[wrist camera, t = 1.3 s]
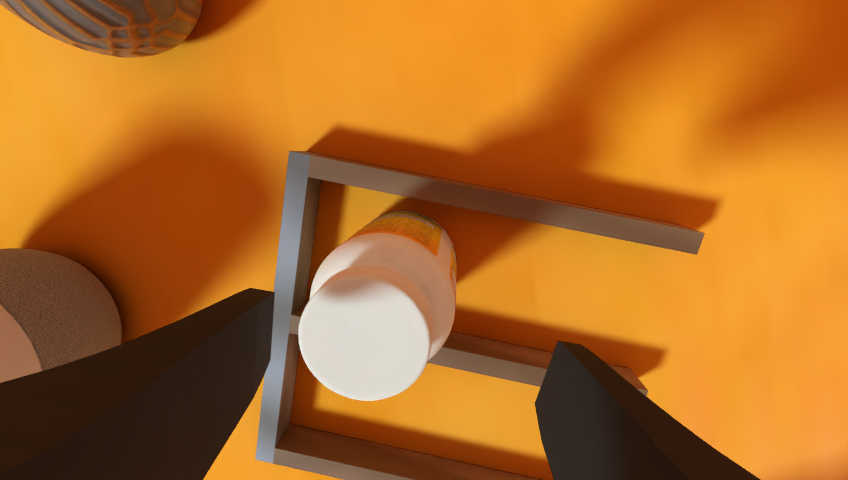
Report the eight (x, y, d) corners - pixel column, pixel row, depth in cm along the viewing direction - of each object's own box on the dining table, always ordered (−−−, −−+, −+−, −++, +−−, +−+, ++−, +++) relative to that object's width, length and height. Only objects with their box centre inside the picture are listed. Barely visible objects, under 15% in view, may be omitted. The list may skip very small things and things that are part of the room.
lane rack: (584, 504, 23) (595, 536, 21) (271, 434, 24) (255, 459, 22) (679, 225, 19) (704, 232, 18) (305, 151, 20) (289, 150, 18)
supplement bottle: (475, 275, 21) (490, 375, 12) (390, 323, 22) (342, 451, 12) (420, 188, 20) (389, 219, 11) (335, 241, 21) (239, 312, 12)
